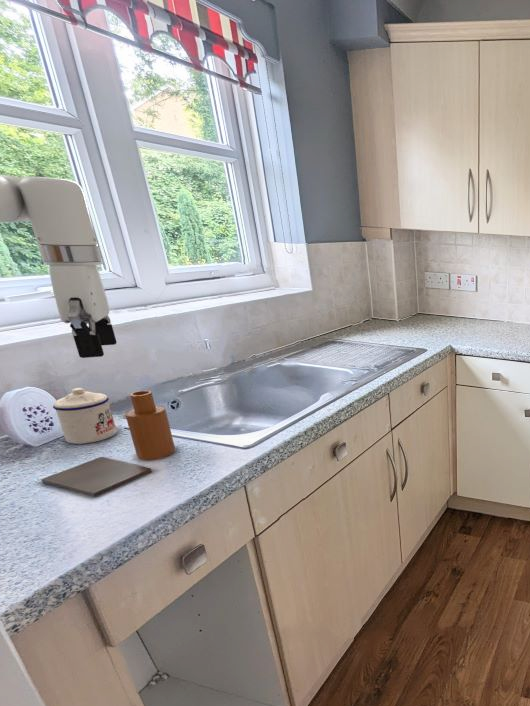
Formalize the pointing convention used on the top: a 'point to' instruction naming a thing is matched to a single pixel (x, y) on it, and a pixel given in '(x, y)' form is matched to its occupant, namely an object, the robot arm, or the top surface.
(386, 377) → the top surface
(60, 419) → the teacup with lid
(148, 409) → the bottle
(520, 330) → the top surface
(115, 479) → the board
